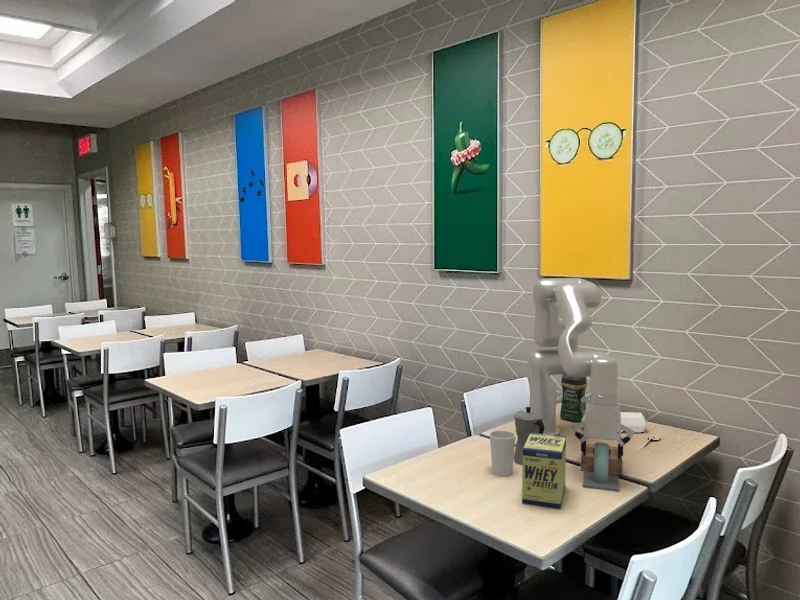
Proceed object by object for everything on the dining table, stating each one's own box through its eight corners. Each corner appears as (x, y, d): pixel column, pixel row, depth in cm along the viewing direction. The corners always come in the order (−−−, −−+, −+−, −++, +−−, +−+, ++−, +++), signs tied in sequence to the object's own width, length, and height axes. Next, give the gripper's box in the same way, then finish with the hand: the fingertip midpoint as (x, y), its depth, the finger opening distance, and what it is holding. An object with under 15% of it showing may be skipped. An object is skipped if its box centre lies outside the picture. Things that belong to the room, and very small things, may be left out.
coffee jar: (557, 419, 234) (558, 373, 233) (566, 414, 240) (567, 370, 238) (579, 424, 228) (580, 377, 226) (588, 419, 234) (589, 374, 232)
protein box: (521, 504, 158) (522, 448, 157) (529, 482, 173) (530, 431, 171) (561, 510, 155) (562, 453, 153) (565, 487, 169) (566, 435, 168)
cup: (517, 468, 183) (517, 431, 182) (513, 478, 176) (513, 439, 175) (491, 465, 186) (492, 429, 185) (487, 475, 178) (487, 437, 177)
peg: (593, 482, 171) (594, 446, 170) (593, 477, 175) (594, 441, 174) (608, 484, 170) (609, 447, 169) (607, 478, 173) (608, 442, 172)
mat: (582, 487, 169) (582, 485, 169) (583, 474, 178) (583, 472, 178) (619, 491, 166) (619, 489, 166) (618, 478, 175) (618, 476, 175)
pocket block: (580, 471, 181) (581, 455, 180) (582, 457, 192) (582, 443, 191) (621, 476, 177) (622, 460, 176) (620, 462, 188) (621, 447, 187)
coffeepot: (504, 455, 194) (505, 403, 193) (529, 452, 198) (530, 400, 196) (529, 472, 180) (530, 415, 178) (555, 468, 183) (556, 412, 181)
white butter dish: (584, 424, 216) (651, 425, 213) (581, 409, 222) (646, 411, 219) (581, 437, 220) (647, 439, 218) (578, 423, 226) (642, 424, 223)
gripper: (571, 400, 169) (570, 457, 171) (635, 405, 163) (633, 464, 165) (572, 393, 176) (571, 448, 178) (634, 398, 170) (632, 455, 172)
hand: (601, 456), depth 171 cm, fingers open, 9 cm apart
